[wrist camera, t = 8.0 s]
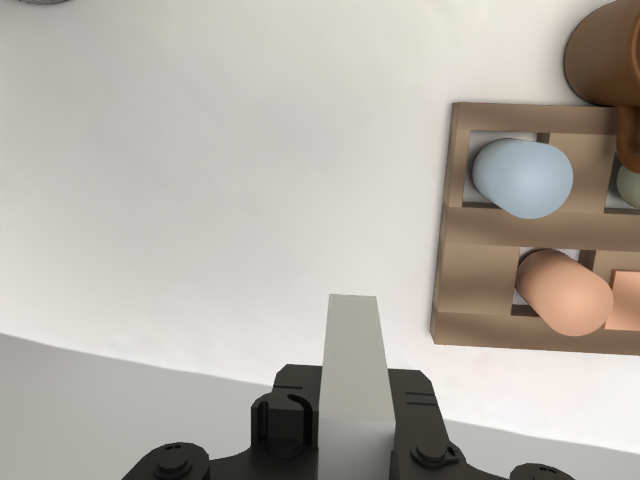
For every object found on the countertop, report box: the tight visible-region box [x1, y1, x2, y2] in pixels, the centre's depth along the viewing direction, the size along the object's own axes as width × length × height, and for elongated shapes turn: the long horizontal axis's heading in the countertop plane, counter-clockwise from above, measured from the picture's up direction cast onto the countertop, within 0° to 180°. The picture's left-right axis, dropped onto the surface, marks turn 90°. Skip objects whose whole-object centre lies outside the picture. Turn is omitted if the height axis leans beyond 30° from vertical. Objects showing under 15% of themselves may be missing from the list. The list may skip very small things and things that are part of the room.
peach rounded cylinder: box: [515, 249, 614, 336], centre depth 38 cm, size 5×5×6 cm
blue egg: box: [472, 138, 573, 219], centre depth 35 cm, size 5×5×6 cm
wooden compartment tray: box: [430, 102, 640, 356], centre depth 40 cm, size 20×20×3 cm
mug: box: [565, 0, 640, 174], centre depth 34 cm, size 12×8×9 cm, turn 176°
